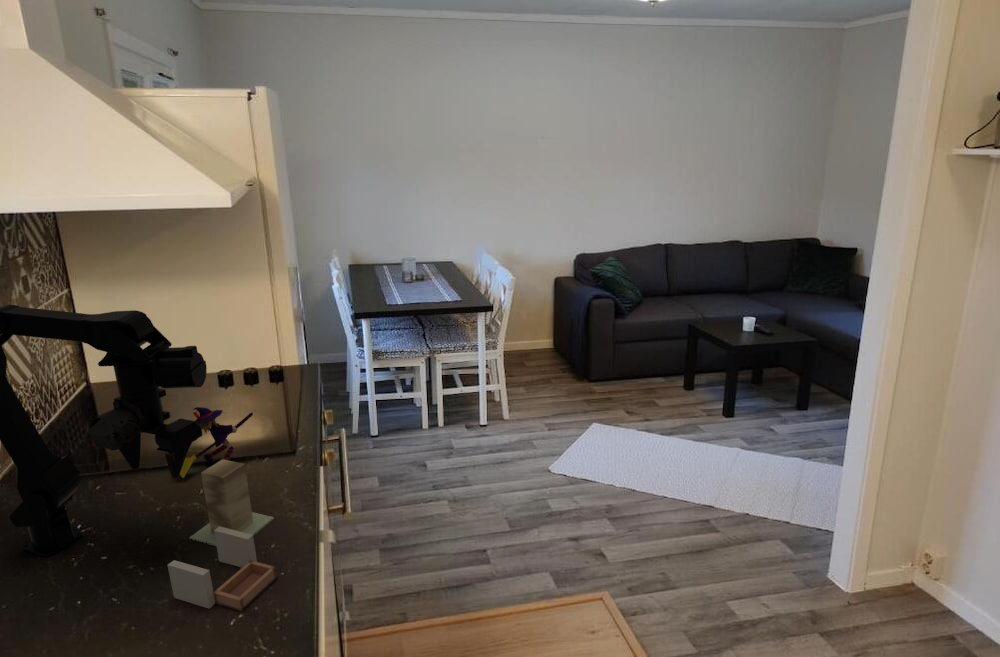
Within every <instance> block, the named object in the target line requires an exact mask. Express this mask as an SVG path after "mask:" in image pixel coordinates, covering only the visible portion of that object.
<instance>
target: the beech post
mask: <svg viewBox="0 0 1000 657" xmlns="http://www.w3.org/2000/svg"><path fill="white" fill-rule="evenodd" d="M246 470H247V469H246V463H243V462H237V461H232V460H229V459H228V460H224V459H220V460H219V461H217V462H216V463H214V464H212V465H211V466H209V467H208V468H206V469H204V470H203V471H201V472H200V474H201V481H202V487H203V493H204V498H205V504H206V510H207V515H208V523H210V528H211V532H212V533H214V530H215V529H216V528H218V527H219V526H220V527H224V528H228V529H232V530H235V531H239V532H242V531H243V530H244V529H245V528H247V527H248V526H249V525H251V524H252V523H253V517H252V512H253V511H252V504H251V503H252V502H251V499H250V498H251V497H250V491H249V485H248V484H249V483H248V477H247V471H246Z"/></svg>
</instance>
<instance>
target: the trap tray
mask: <svg viewBox="0 0 1000 657" xmlns="http://www.w3.org/2000/svg"><path fill="white" fill-rule="evenodd" d="M276 579H278V574H277V567H276V566H273V565H269V564H266V563H262V562H259V561H257V562H255V561H252V560H251V561H250V562H248V563H247V564H246V565H245V566H244V567H243V568H241V567H240V569H239V570H238V571H237V572H235V574H233V575H232V576H231V577H230V578H229V579H228V580H226V581H225V582H224V583H223V584H222V585H221V586H219V587H218V588H217V589H215V591H213V593H214V599H215V604H216V605H219V606H222V607H226V608H229V609H232V610H235V611H239V612H243V611H244V610H245V609H246V608H247V607H248V606H249V605H250V604H251V603H252V602H253V601H254V600H255V599H256V598H258V597H259V596H260V595H261V594H262V593H263V592H264V591H265V590H266V589H267V588H268V587H269V586H270V585H271V584H273V582H274V581H275V580H276ZM215 604H214V605H215Z"/></svg>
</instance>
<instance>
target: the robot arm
mask: <svg viewBox="0 0 1000 657" xmlns="http://www.w3.org/2000/svg"><path fill="white" fill-rule="evenodd" d="M13 336H20V337H21V336H22V337H29V338H30V337H31V338H37V339H38V338H39V339H41V338H42V339H48V340H49V339H50V340H59V341H60V340H61V341H67V342H68V341H69V342H77V343H78V342H80V343H84V344H87V345H89V346H90V347H92V348H93V349H95V350H97V351H101V352H105V353H106V354H105V355H104V356H103V357H102V359H101V360H100V361H98V362H97V366H99V367H113V370H114V371H113V372H114V376H115V381H116V384H117V390H118V395H119V396H117V397H115V398H114V399H113V401H112V404H113V405H112V406H113V409H110V410H109V411H107V412H104V413H101V414H100V415H97V416H95V417H94V419H93V420H92V422H91V425H90V426H91V427H90V428H89V430H87V431H88V432H87V433H88V435H89V437H90V438H91V439H92V441H93V442H94V443H95V444H96V446H97V447H98V448H101V449H102V448H103V449H108V450H110V451H119V452H120V453H121V454H122V456H123V457H124V459H125V461H126V462H127V464H128V465H129V467H130V468H131V469H132V470H137V469H139V468H140V462H141V444H142V443H141V441H142V434H143V433H144V434H150V435H154V441H155V443H156V445H157V446H158V447H157V448H156V451H158V452H160V453H162V454H164V456H165V460H166V462H167V466H168V471H169V474H170V476H171V478H172V479H175V480H176V479H177V478H178V477H179V476H180V472H181V469H182V466H183V463H184V460H185V458H187V456H188V455H187V454H188V452H189V450H190V448H191V445H192V444H193V443H194V441H196V440H198V439H199V438H201V437H202V436H203V429H202V428H201V424H200V423H198V422H196V421H195V420H193V419H192V420H191V419H186V418H185V419H184V418H179V419H176V420H174V421H172V422H170V423H168V424H167V423H165V421H166V420H168V419H170V418H171V413H170V411H166V410H164V408H163V403H162V398H163V397H165V396H167V391H166V389H188V388H189V389H190V388H202V387H203V385H204V384H205V381H206V378H207V371H208V369H207V363H206V362H207V361H206V360H205V359H204V356H203V355H202V354H201V353H200V352H199V351H198V346H196V345H187V346H182V347H180V346H179V347H171V346H172V342H170V340H169V339H168V338H167V337H166V336H165V335H164V334H162V332H161V331H159V329H157V328H156V327H155V326H154V324H153V322H152V320H151V319H150V317H148V316H147V313H145V312H143V311H140V310H134V309H133V310H116V311H109V312H103V313H94V314H93V313H91V314H89V313H79V312H72V311H71V312H70V311H64V310H63V311H62V310H60V311H59V310H52V309H45V308H44V309H43V308H34V307H25V306H19V305H18V304H17V305H16V304H5V305H3V306H0V442H1V444H2V446H3V448H4V449H5V450H6V452H7V454H8V456H9V457H10V459H11V460H12V462H13V463H14V465H15V467H16V490H17V492H18V495H19V497H20V499H21V503H20V504H19V505H18V506H17V507H16V509H14V510H13V512H11V514H10V515H9V517H8V518H9V520H10V521H11V523H12V524H13V525H14V526H15V528H25V527H27V530H28V533H29V536H30V540H31V541H30V542H27V543H26V544H24V545H23V546H22V549H23V550H24V551H27V552H30V553H33V554H37V555H39V556H42V557H50V556H52V555H53V554H55V553H57V552H59V551H60V550H62V549H63V548H65V547H67V546H69V545H70V544H72V543H73V542H75V541H77V540H78V539H80V538H82V537H83V532H80V531H77V530H73V528H72V523H71V520H70V517H69V514H68V510H67V508H66V505H67V504H68V503H69V502H70V501H72V500H73V499H74V497H75V492H77V490H79V487H80V485H81V477H80V475H81V473H82V471H80V470H79V469H78V468H77V467H76V466H75V462H74V461H73V459H72V456H71V455H69V454H66V455H64V456H62V457H61V456H59V455H57V454H56V453H53V452H51V451H50V449H49V448H48V445H46V443H45V441H44V439H43V438H42V436H41V434H40V433H39V431H38V429H37V427H36V426H35V424H34V423H33V420H32V419H31V418H30V416H29V413H28V412H27V410H26V409H25V407H24V405H23V404H22V402H21V401H20V399H19V397H18V395H17V393H16V392H15V391H14V389H13V387H12V385H11V384H10V383H9V381H8V378H7V362H8V361H7V356H6V353H5V351H4V348H3V345H4V344H6V343H7V342H8V341H9V340H11V339H12V338H13ZM146 343H148V346H146V347H144V348H142V346H143V345H144V344H146ZM160 387H161V388H160Z"/></svg>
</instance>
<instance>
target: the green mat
mask: <svg viewBox="0 0 1000 657" xmlns="http://www.w3.org/2000/svg"><path fill="white" fill-rule="evenodd" d="M252 517H253V523H252V524H251V525H249V526H248V527H247V528H245V529H244V530H243V531H242V532H243V533H247V534H251V535H253V537H255V536H256V535H257V534H258V533H259V532H260V531H261V530H263V529H264V528H265V527H266V526H267V525H269V524H270V523H271V522H272V521H274V520H275V517H274V516H269V515H265V514H261V513H257V512H254V511H252ZM189 539H190V540H191V539H192V541H195V540H196V542H198V541H199V543H202V542H203V544H206V543H207V544H206V545H210V546H214V547H217V546H216V540H215V534H214V533H212V532H211V528H210V522H208V523H207V524H206V525H204V526H203V527H202V528H200V529H199V530H197V531H196V532H195V533H193V534H192V535H191V536H189Z"/></svg>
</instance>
